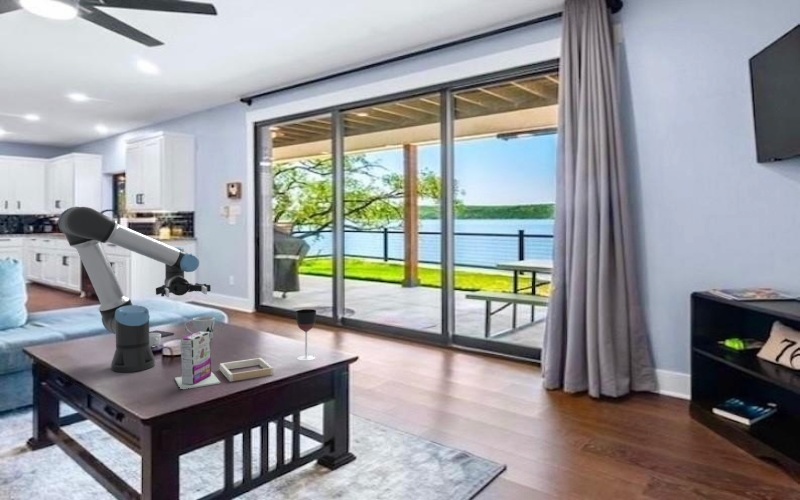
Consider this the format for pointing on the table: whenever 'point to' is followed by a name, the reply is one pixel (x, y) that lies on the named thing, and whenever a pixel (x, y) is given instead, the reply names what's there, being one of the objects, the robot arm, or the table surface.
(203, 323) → the mug
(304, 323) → the wineglass
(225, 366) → the cream rectangular open frame
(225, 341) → the table surface
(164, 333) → the notebook
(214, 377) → the rubber mat
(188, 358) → the candy bar box
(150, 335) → the teacup
